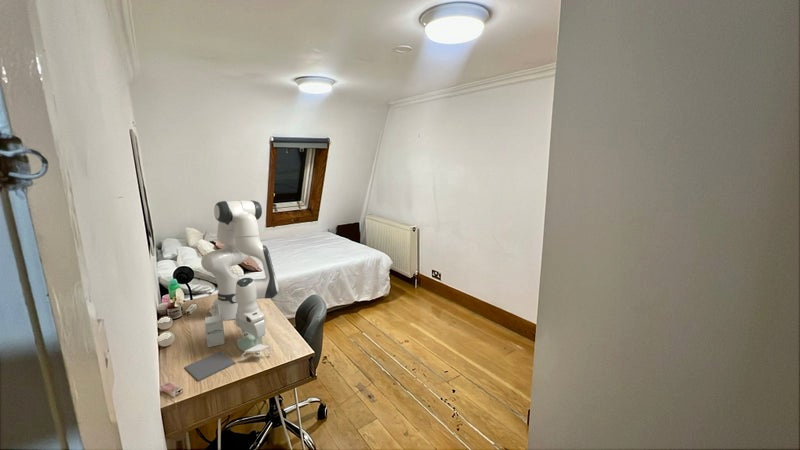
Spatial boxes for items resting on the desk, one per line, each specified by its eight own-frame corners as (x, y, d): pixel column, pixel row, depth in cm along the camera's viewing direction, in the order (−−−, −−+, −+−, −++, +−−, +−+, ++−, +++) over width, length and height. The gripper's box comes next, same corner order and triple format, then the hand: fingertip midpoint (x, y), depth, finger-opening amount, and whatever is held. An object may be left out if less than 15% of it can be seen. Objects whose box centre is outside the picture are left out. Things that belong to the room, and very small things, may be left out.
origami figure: (267, 348, 158) (266, 339, 157) (273, 357, 152) (272, 347, 151) (240, 358, 151) (239, 348, 150) (244, 367, 145) (243, 357, 144)
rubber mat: (184, 368, 144) (184, 366, 144) (220, 352, 156) (220, 350, 155) (198, 381, 136) (198, 380, 135) (235, 363, 147) (235, 362, 147)
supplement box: (207, 348, 159) (204, 323, 156) (207, 340, 165) (204, 316, 162) (225, 344, 162) (222, 320, 159) (224, 336, 168) (222, 313, 166)
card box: (237, 347, 160) (237, 339, 159) (255, 339, 167) (255, 331, 166) (244, 351, 156) (243, 344, 155) (262, 343, 163) (261, 335, 162)
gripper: (230, 309, 162) (233, 335, 165) (253, 321, 150) (256, 349, 152) (243, 304, 167) (246, 330, 170) (266, 316, 155) (269, 343, 157)
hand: (251, 339), depth 161 cm, fingers open, 8 cm apart
